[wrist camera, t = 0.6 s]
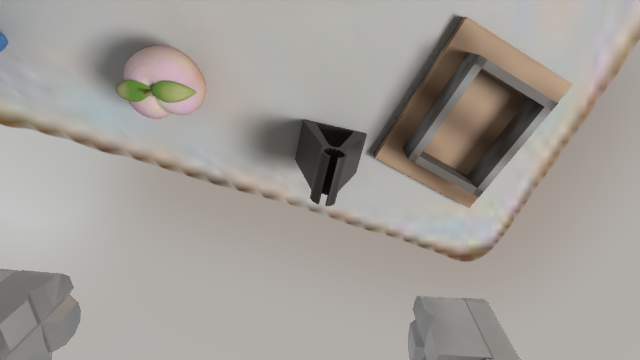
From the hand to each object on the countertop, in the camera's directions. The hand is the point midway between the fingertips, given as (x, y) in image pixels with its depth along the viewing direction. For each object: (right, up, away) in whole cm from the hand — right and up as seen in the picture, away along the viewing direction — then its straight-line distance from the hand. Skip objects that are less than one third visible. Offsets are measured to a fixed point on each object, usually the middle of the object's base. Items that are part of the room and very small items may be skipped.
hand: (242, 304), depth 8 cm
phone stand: (+3, +8, +41) cm, 42 cm away
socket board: (+21, +11, +38) cm, 45 cm away
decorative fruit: (-17, +17, +38) cm, 45 cm away
